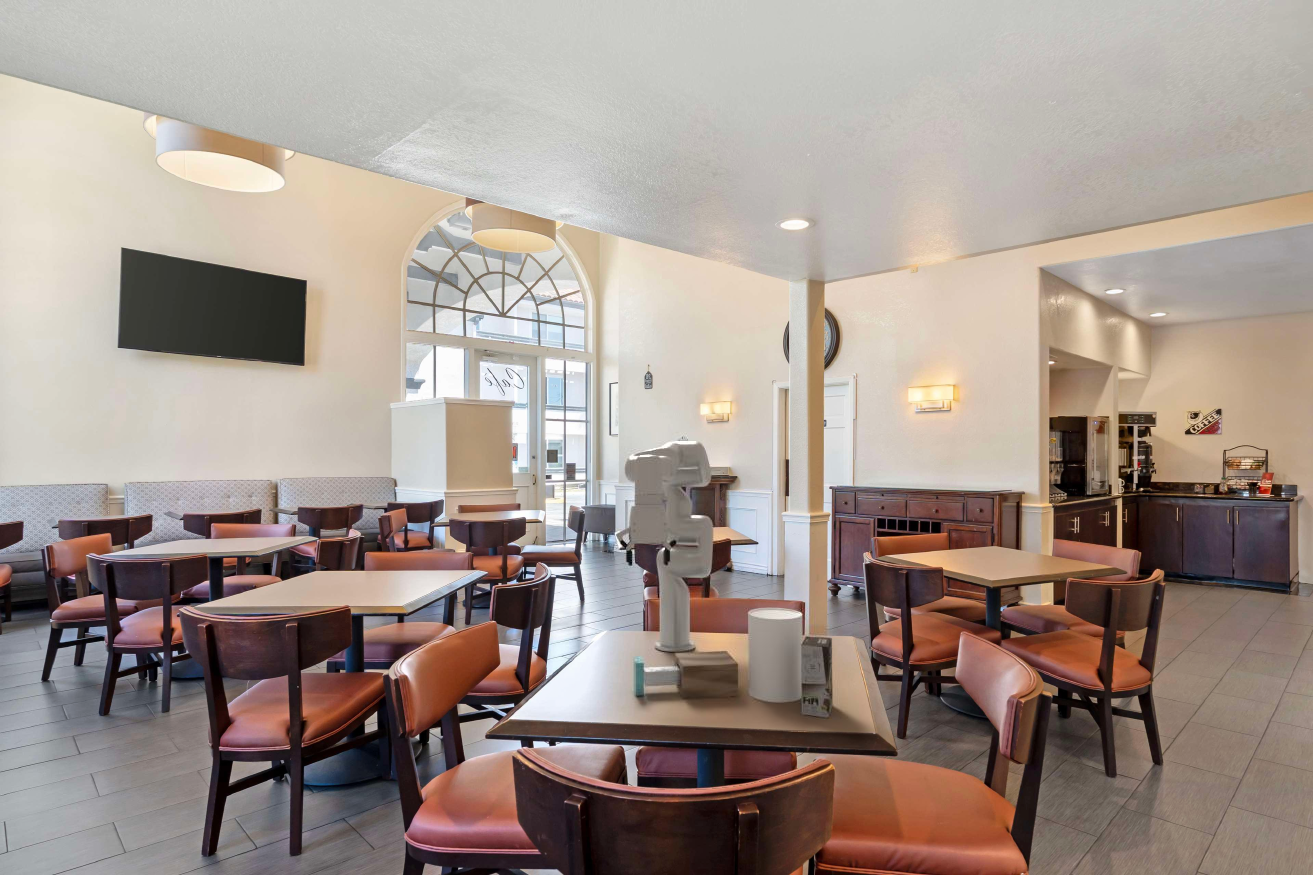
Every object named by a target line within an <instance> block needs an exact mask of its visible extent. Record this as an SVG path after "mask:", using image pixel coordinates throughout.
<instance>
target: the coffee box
mask: <svg viewBox="0 0 1313 875" xmlns="http://www.w3.org/2000/svg"><path fill="white" fill-rule="evenodd" d="M803 639H804V640H803V643H802V644H801V684H802V698H801V715H805V716H813V717H819V718H827V719H828V718H829V717H830V714H831V711H832V709H833V705H834V704H833V702H834V701H833V700H834V698H833V697H834V695H833V694H834V692H833V638H832V637H823V636H822V637H821V636H807V635H806V636H805V637H804V638H803Z"/></svg>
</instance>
